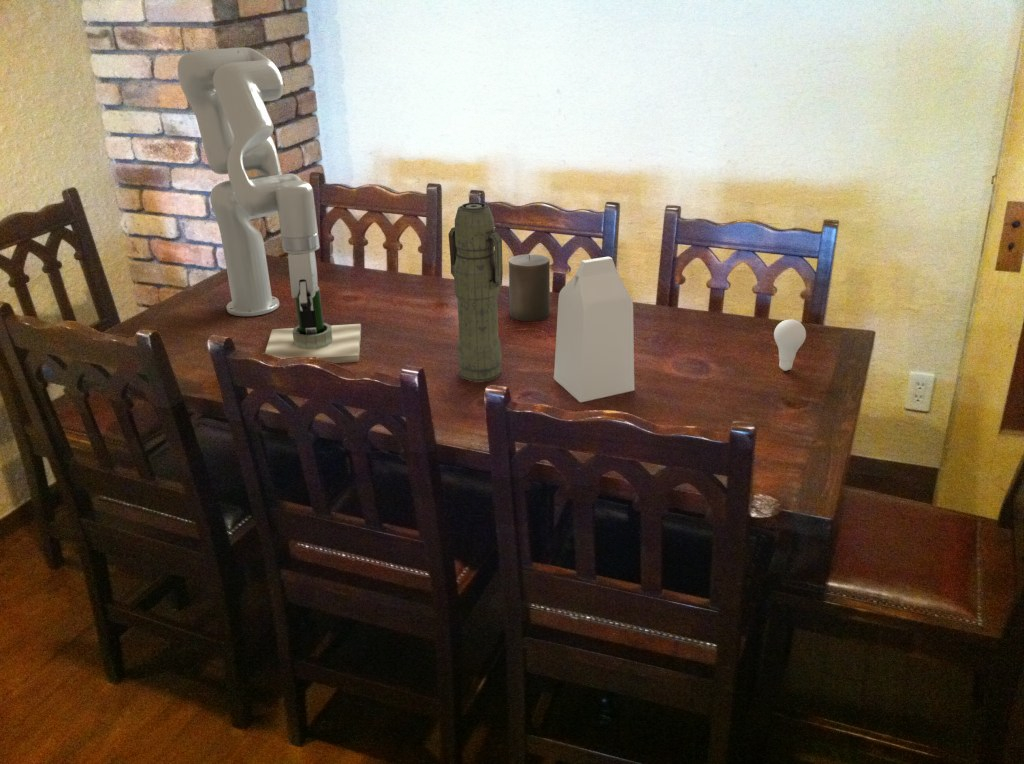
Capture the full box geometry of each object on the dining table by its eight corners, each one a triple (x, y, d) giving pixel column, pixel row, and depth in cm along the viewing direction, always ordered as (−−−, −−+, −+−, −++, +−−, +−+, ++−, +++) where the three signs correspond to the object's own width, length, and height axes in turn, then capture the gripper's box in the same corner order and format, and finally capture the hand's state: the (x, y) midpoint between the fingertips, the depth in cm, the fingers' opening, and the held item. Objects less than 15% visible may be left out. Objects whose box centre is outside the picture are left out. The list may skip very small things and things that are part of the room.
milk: (580, 402, 166) (582, 273, 154) (553, 378, 175) (554, 255, 164) (634, 390, 170) (640, 263, 158) (605, 368, 179) (609, 247, 168)
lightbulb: (795, 379, 173) (803, 328, 168) (765, 372, 176) (771, 322, 171) (804, 368, 178) (811, 318, 173) (774, 361, 181) (780, 312, 176)
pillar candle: (550, 321, 203) (550, 260, 196) (508, 322, 203) (507, 260, 197) (549, 307, 212) (549, 248, 205) (509, 307, 212) (508, 248, 206)
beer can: (326, 339, 189) (320, 287, 184) (302, 343, 187) (295, 290, 182) (323, 330, 193) (316, 279, 188) (298, 334, 192) (291, 282, 186)
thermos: (466, 359, 184) (459, 197, 169) (515, 370, 179) (512, 203, 164) (443, 375, 177) (434, 207, 162) (493, 387, 172) (488, 214, 157)
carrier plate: (273, 335, 198) (270, 317, 196) (361, 329, 200) (359, 311, 198) (263, 368, 182) (259, 348, 180) (358, 361, 184) (356, 342, 182)
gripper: (286, 231, 188) (297, 309, 196) (277, 255, 173) (289, 338, 181) (321, 229, 189) (330, 307, 197) (315, 253, 174) (325, 336, 182)
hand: (310, 321), depth 189 cm, fingers closed on beer can, 5 cm apart
